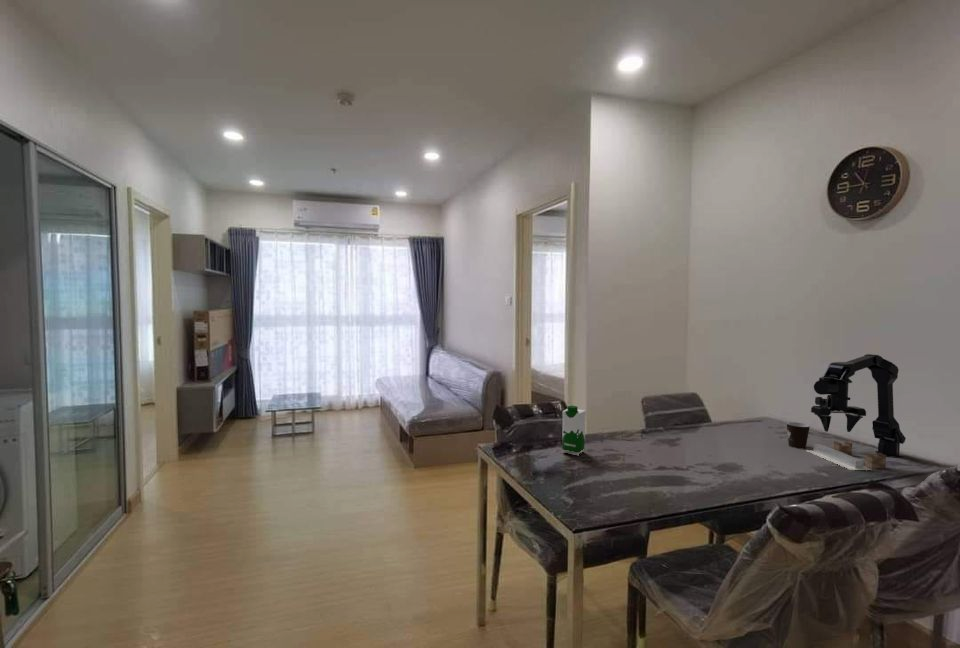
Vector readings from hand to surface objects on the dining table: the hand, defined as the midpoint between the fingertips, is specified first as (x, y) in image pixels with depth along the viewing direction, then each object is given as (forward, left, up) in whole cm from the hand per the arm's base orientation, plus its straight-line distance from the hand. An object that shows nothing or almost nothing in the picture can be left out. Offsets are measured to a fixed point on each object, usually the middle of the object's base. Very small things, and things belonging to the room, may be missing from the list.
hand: (837, 431), depth 187 cm
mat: (0, 0, -12) cm, 12 cm away
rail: (0, 0, -11) cm, 11 cm away
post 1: (-9, -8, -12) cm, 17 cm away
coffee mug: (+2, -20, -12) cm, 23 cm away
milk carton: (+107, -6, -12) cm, 108 cm away
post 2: (-9, +8, -12) cm, 17 cm away
